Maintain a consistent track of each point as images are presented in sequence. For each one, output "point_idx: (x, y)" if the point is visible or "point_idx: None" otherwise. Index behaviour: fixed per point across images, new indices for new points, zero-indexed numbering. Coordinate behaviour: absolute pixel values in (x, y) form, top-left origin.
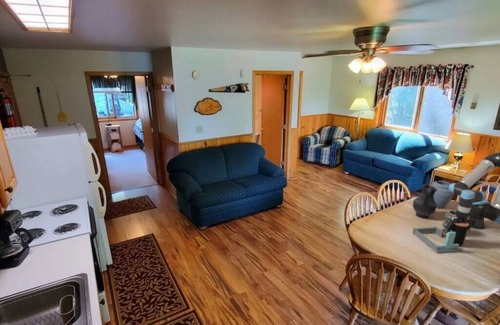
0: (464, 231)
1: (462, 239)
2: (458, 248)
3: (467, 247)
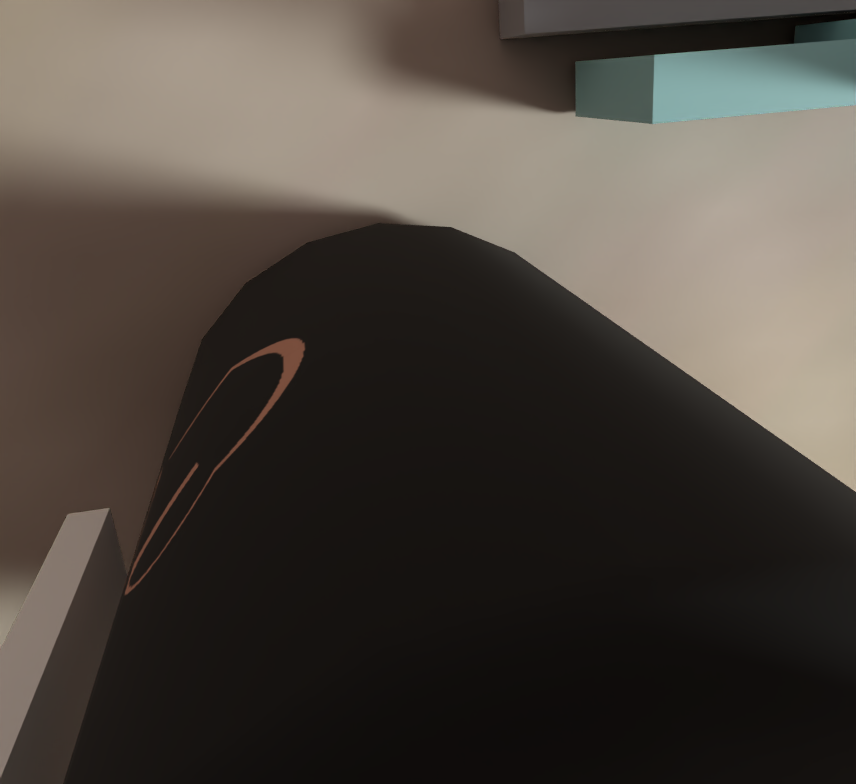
0: (557, 440)
1: (407, 275)
2: (622, 17)
3: (151, 191)
